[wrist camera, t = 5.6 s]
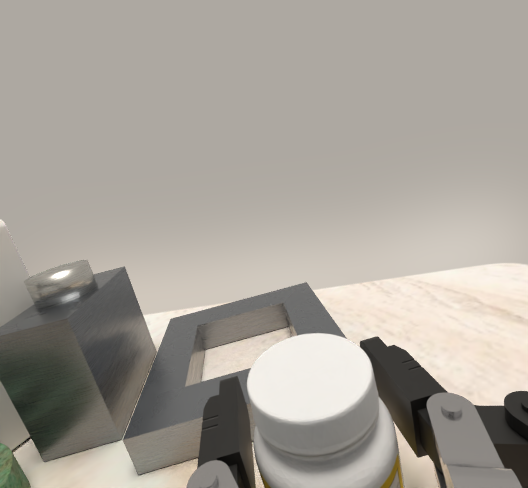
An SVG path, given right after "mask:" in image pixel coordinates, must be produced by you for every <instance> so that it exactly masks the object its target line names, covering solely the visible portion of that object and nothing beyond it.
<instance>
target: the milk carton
mask: <svg viewBox="0 0 528 488" xmlns="http://www.w3.org/2000/svg"><path fill="white" fill-rule="evenodd" d="M28 278H30V276H29V274H28V272H27V270H26V267H25V265H24V263H23V261H22V259H21V257H20V254H19V252H18V250H17V248H16V246H15V244H14V242H13V239H12V237H11V235H10V233H9V231H8V229H7V227H6V224H5V223H4V222H3V221H2V220H1V219H0V327H1V326H3V325H4V324H6V323H7V322H9V321H10V320H12V319H13V318H15V317H16V316H18V315H19V314H21V313H22V312H24V311H25V310H26V309H28V308H29V307H31V306H32V305H34V303H33V300H32V298H31V296H30V294H29V292H28V290H27V288H26V286H25V283H24V281H25V280H26V279H28ZM29 437H30V435H29V433H28V431H27V429H26V427H25V425H24V424H23V422H22V420H21V418H20V416H19V414H18V412H17V411H16V409H15V407H14V405H13V403H12V401H11V399H10V398H9V396H8V394H7V392H6V390H5V388H4V386H3V385H2V383H1V381H0V443H2V444H4V445H6V446H7V447H9V448H10V450H11V451H12V450H13V449H14V448H16V447H17V446H18V445H20V444H21V443H22V442H24V441H25V440H26V439H27V438H29Z"/></svg>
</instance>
